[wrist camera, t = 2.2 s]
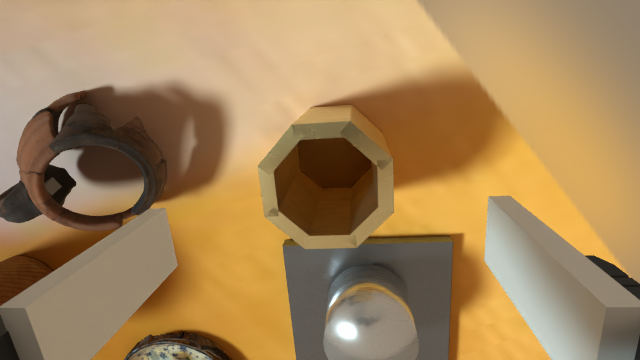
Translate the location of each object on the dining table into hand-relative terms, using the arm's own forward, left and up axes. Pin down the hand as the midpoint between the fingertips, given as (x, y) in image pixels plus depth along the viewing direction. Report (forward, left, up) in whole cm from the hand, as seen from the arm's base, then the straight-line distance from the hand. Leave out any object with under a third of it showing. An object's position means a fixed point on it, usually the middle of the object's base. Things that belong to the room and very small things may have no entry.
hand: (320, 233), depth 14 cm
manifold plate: (+17, +2, -13) cm, 21 cm away
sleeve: (0, 0, -13) cm, 13 cm away
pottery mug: (-1, -18, -13) cm, 22 cm away
